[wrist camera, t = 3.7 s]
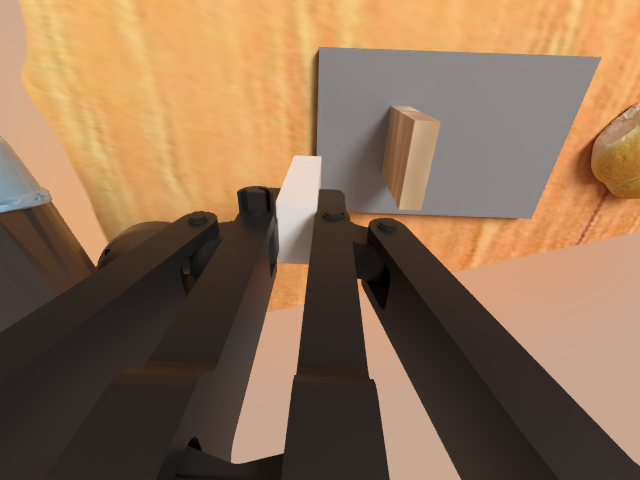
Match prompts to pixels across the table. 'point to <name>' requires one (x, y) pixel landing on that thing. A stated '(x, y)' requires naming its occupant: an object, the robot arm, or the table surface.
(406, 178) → the light wood flat block
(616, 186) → the bread roll
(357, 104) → the slate board
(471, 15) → the table surface
